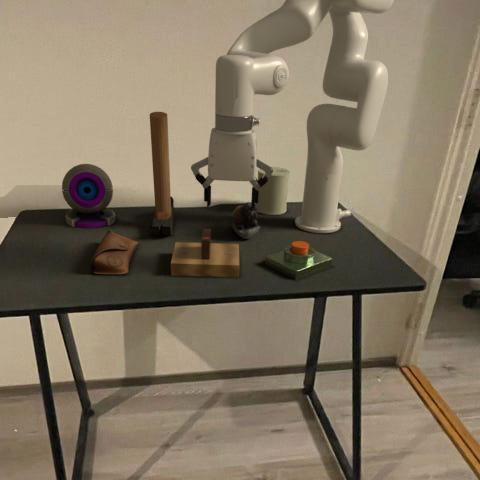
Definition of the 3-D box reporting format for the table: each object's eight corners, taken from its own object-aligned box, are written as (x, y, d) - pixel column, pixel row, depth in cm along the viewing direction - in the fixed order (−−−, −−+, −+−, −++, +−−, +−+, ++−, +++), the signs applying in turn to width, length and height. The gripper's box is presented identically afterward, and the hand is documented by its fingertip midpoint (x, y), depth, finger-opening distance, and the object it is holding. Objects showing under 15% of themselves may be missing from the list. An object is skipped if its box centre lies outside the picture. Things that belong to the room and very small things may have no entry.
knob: (203, 246, 125) (203, 227, 123) (210, 247, 125) (210, 227, 123) (201, 259, 119) (201, 239, 116) (209, 259, 119) (209, 239, 117)
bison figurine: (227, 226, 145) (228, 190, 140) (252, 225, 147) (254, 189, 141) (236, 243, 135) (238, 205, 130) (263, 242, 137) (266, 204, 131)
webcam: (65, 229, 139) (57, 171, 131) (66, 213, 149) (59, 158, 142) (116, 227, 142) (111, 170, 134) (114, 211, 152) (110, 157, 145)
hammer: (171, 247, 137) (166, 132, 117) (151, 246, 137) (143, 131, 117) (174, 207, 152) (171, 100, 132) (157, 207, 152) (150, 99, 132)
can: (290, 214, 156) (293, 173, 149) (259, 215, 154) (261, 173, 148) (282, 204, 163) (285, 164, 157) (252, 205, 162) (254, 165, 156)
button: (299, 246, 126) (300, 239, 125) (311, 252, 123) (312, 245, 122) (287, 250, 123) (288, 243, 123) (299, 256, 121) (300, 249, 120)
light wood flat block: (238, 255, 129) (238, 243, 127) (238, 277, 119) (239, 264, 117) (175, 253, 128) (175, 241, 127) (171, 275, 118) (170, 262, 116)
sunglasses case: (130, 273, 117) (112, 248, 114) (103, 287, 119) (85, 263, 115) (140, 241, 133) (124, 219, 129) (116, 254, 134) (100, 232, 131)
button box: (300, 252, 132) (301, 237, 130) (331, 266, 126) (333, 251, 123) (264, 264, 125) (266, 248, 123) (295, 280, 119) (297, 263, 117)
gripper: (275, 121, 111) (269, 201, 120) (192, 118, 111) (192, 198, 120) (277, 129, 105) (271, 212, 114) (189, 125, 105) (189, 209, 113)
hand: (230, 205), depth 117 cm, fingers open, 9 cm apart
